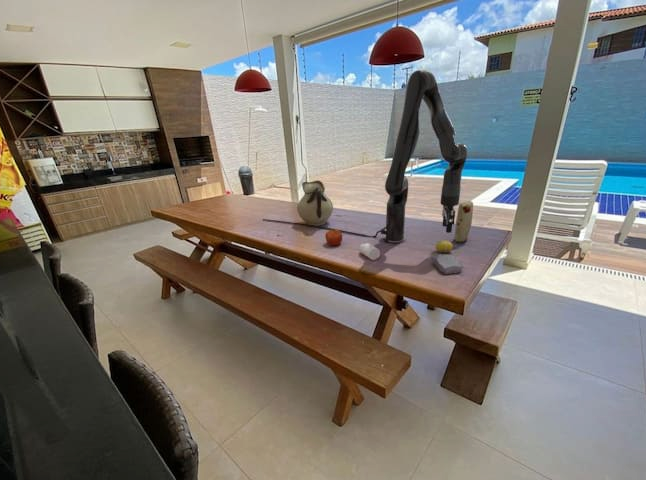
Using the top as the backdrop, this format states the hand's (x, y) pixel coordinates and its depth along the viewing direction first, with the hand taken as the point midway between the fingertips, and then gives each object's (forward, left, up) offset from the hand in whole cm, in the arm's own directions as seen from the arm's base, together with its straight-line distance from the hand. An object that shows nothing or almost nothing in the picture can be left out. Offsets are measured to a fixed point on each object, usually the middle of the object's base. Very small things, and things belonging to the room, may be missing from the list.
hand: (446, 229), depth 139 cm
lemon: (0, 0, -11) cm, 11 cm away
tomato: (-53, +9, -11) cm, 55 cm away
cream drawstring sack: (-69, +44, -11) cm, 83 cm away
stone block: (-1, -17, -11) cm, 21 cm away
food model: (+11, +15, -11) cm, 22 cm away
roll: (-35, -5, -11) cm, 37 cm away
